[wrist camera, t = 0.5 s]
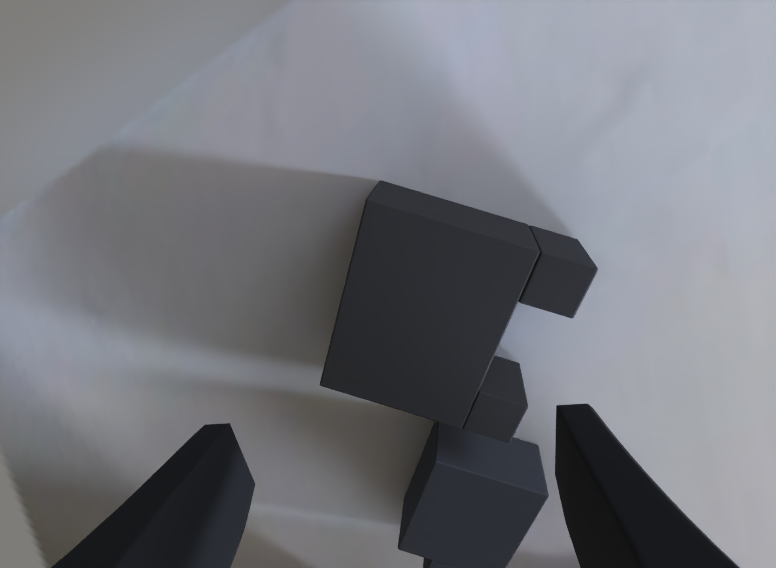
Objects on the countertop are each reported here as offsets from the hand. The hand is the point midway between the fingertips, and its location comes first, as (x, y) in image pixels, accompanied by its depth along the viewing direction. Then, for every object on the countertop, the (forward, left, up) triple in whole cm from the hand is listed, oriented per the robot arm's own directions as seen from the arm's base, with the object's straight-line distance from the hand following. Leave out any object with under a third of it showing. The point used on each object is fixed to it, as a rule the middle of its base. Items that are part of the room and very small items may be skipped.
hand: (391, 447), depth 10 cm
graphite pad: (-10, -5, -10) cm, 15 cm away
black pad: (-1, -1, -10) cm, 10 cm away
